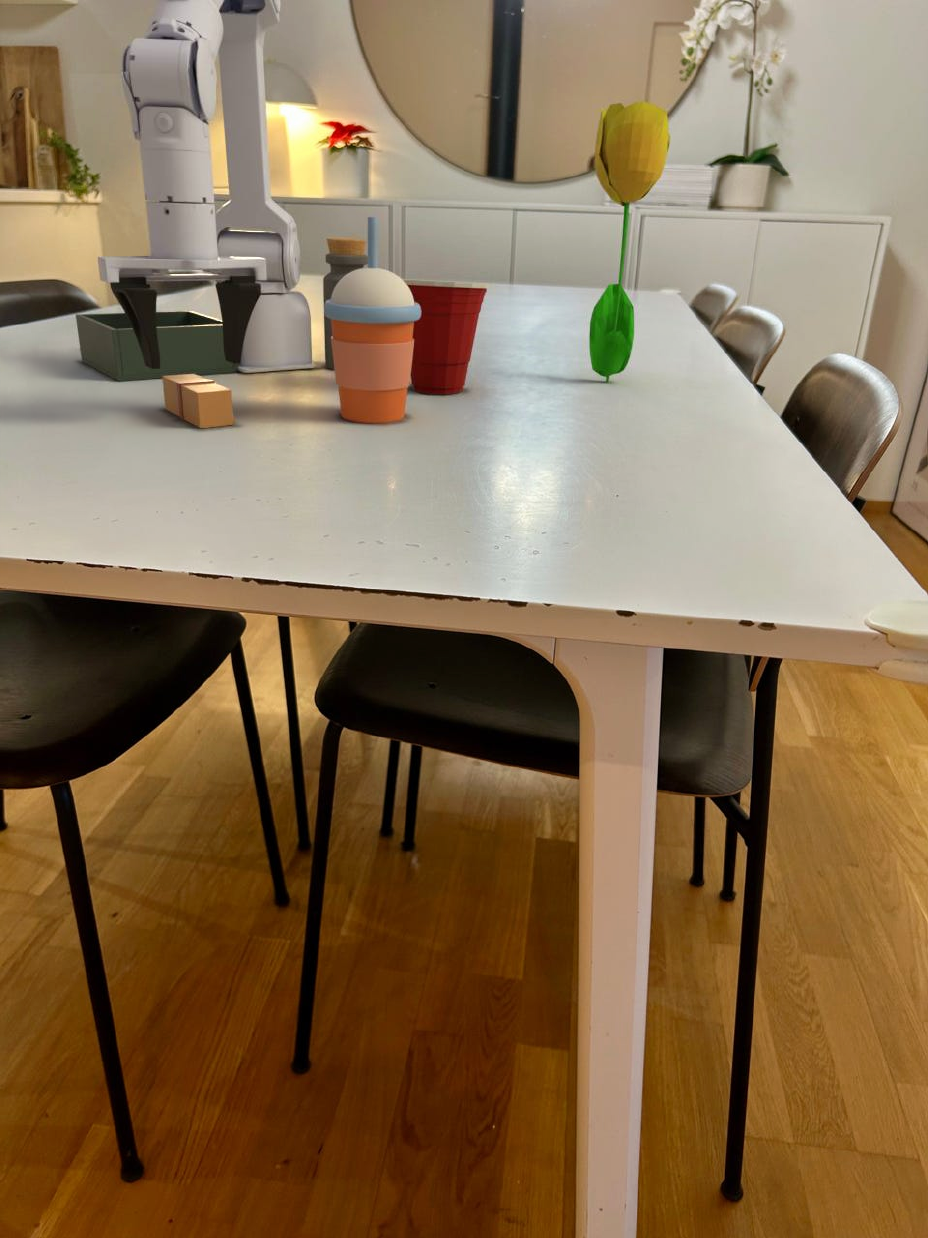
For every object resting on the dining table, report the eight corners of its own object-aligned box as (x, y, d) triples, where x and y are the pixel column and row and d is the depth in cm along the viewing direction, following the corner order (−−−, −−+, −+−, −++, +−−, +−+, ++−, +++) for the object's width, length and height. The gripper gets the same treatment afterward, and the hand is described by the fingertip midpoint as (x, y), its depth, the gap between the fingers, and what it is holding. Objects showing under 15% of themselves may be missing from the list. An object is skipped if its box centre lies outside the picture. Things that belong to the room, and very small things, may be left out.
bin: (194, 354, 118) (190, 310, 116) (238, 372, 108) (235, 324, 106) (81, 361, 110) (75, 314, 108) (118, 381, 100) (111, 329, 98)
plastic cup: (488, 383, 107) (494, 276, 102) (481, 401, 98) (486, 283, 93) (398, 378, 108) (399, 271, 103) (382, 395, 98) (382, 278, 93)
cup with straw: (405, 431, 84) (408, 219, 76) (312, 422, 85) (306, 214, 78) (428, 411, 92) (433, 218, 84) (343, 404, 94) (340, 214, 86)
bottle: (349, 372, 110) (347, 240, 104) (315, 366, 114) (311, 237, 107) (381, 367, 115) (381, 239, 108) (347, 361, 118) (345, 236, 111)
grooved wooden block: (198, 407, 90) (195, 372, 88) (234, 425, 83) (232, 388, 82) (164, 410, 88) (160, 374, 86) (199, 429, 81) (196, 391, 80)
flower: (645, 390, 107) (681, 101, 95) (577, 387, 107) (604, 97, 95) (634, 377, 115) (666, 108, 103) (571, 374, 115) (595, 105, 103)
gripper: (108, 200, 71) (128, 376, 77) (278, 206, 79) (284, 365, 85) (82, 198, 76) (103, 364, 82) (244, 204, 84) (253, 354, 90)
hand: (194, 364), depth 83 cm, fingers open, 7 cm apart
